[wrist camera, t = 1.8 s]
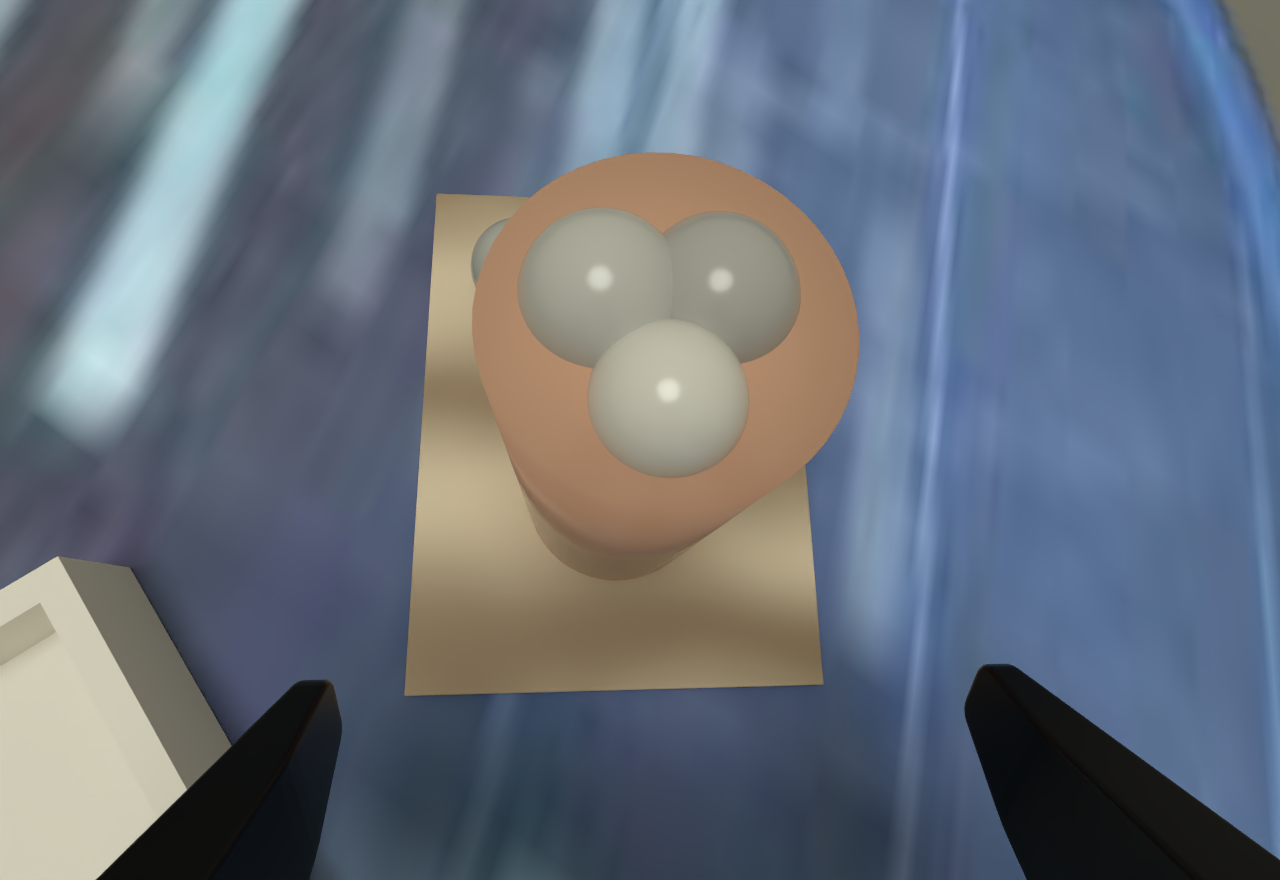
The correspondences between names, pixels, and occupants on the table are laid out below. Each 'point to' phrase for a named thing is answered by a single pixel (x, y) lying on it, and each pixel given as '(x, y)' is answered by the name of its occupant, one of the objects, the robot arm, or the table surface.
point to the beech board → (550, 590)
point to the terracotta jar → (659, 353)
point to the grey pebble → (484, 248)
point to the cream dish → (90, 720)
